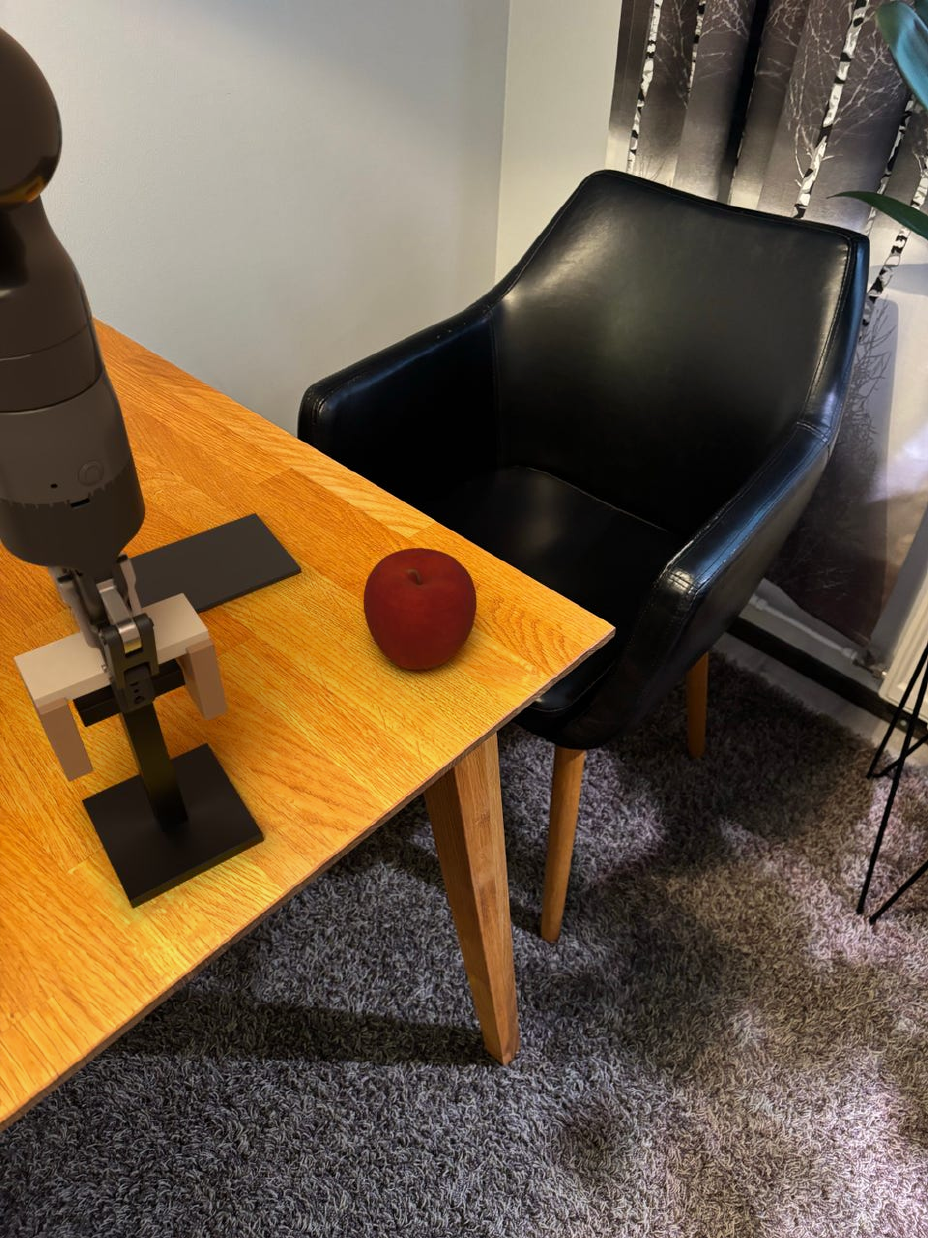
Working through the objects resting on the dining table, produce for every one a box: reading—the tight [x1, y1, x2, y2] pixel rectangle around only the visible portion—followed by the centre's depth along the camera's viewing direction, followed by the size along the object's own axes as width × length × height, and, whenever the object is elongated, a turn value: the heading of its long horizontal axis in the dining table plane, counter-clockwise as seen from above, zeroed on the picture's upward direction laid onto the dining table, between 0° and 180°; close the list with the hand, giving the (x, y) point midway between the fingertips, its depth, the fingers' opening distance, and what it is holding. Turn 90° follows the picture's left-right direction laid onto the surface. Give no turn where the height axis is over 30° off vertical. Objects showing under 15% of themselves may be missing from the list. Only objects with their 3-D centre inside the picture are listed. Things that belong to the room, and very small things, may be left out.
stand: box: [71, 658, 265, 909], centre depth 66 cm, size 10×10×16 cm
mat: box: [68, 512, 302, 615], centre depth 91 cm, size 20×10×1 cm, turn 124°
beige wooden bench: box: [13, 593, 229, 783], centre depth 61 cm, size 11×5×7 cm, turn 124°
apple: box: [363, 547, 478, 671], centre depth 82 cm, size 10×10×10 cm
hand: (124, 680), depth 61 cm, fingers closed on beige wooden bench, 4 cm apart
